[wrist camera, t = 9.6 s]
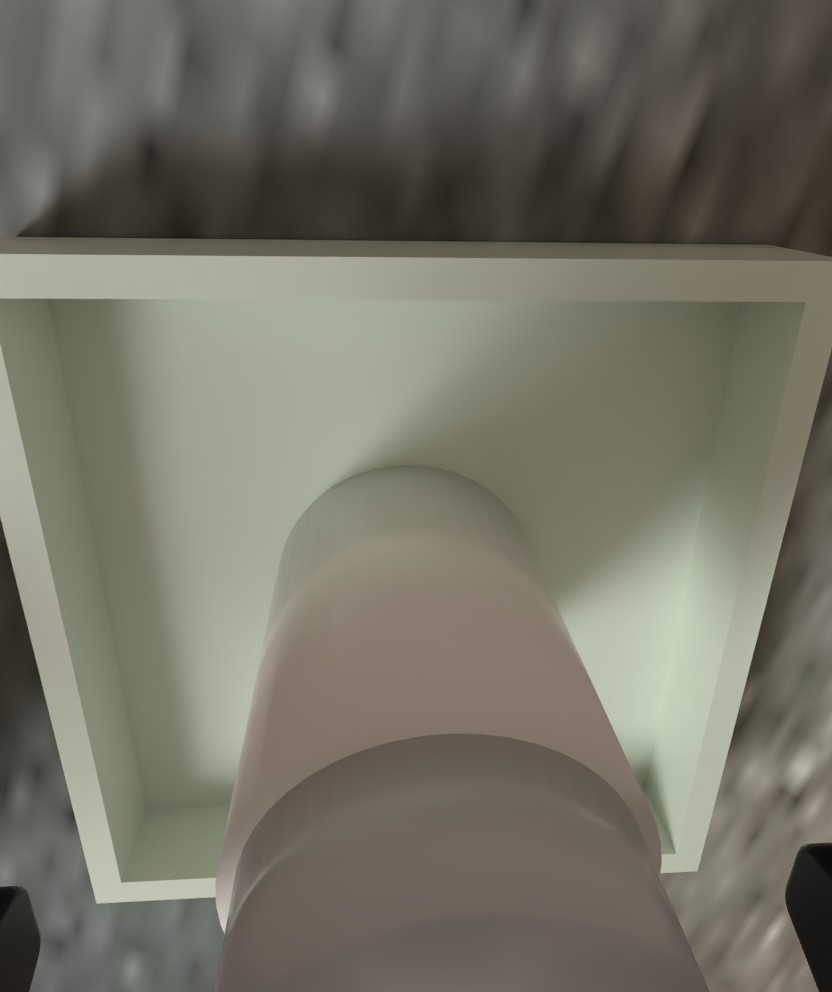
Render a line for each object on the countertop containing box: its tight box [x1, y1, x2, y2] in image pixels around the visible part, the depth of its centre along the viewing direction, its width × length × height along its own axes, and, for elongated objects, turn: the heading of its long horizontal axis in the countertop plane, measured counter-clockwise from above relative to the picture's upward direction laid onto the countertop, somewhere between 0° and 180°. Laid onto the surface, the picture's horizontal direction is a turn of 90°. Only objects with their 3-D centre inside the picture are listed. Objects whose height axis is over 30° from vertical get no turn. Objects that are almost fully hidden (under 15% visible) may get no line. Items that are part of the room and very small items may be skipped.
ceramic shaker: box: [215, 465, 709, 992], centre depth 11 cm, size 5×5×9 cm
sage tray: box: [0, 237, 832, 903], centre depth 14 cm, size 13×13×2 cm
